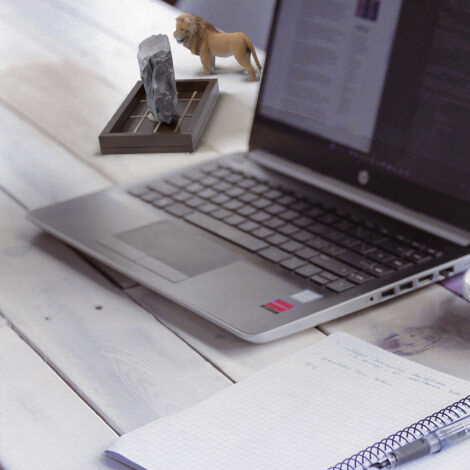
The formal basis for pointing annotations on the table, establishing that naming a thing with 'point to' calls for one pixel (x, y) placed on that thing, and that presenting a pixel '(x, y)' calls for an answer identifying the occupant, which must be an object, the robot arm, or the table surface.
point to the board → (155, 132)
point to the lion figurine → (214, 44)
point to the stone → (159, 77)
